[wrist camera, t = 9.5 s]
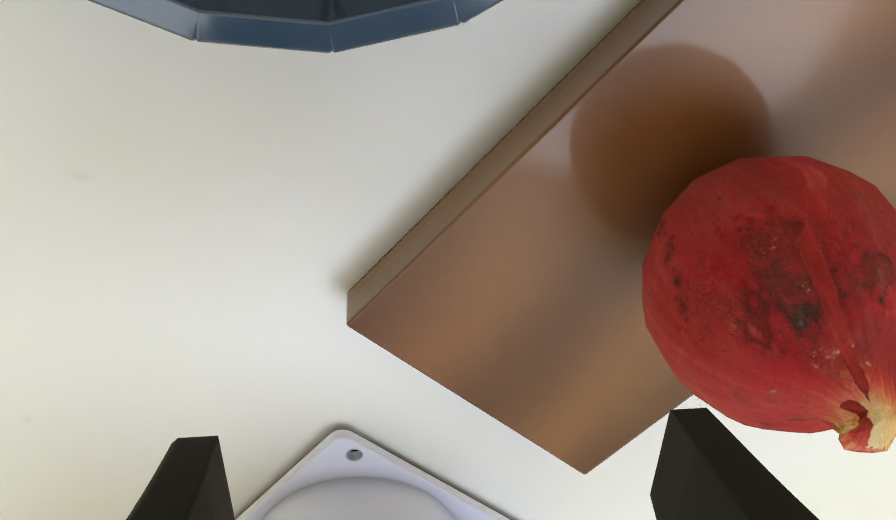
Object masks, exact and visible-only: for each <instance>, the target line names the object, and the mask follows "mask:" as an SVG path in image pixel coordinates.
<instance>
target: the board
mask: <svg viewBox="0 0 896 520" xmlns="http://www.w3.org/2000/svg"><path fill="white" fill-rule="evenodd" d="M770 156H808V157H811V158H814V159H816V160H819V161H822V162H825V163H828V164H831V165H833V166H836V167H839V168H842V169H845V170H848V171H850V172H852V173H854V174H855V175H857V176H859V177H861V178H863V179H865V180H866V181H868V182H870V183H872V184H874V185H875V186H876V187H877V188H878V189H879V191H880V192H881V193H882V194H883V195H884V196H885V198H886V199H887V200H888V201H889V202H890V203H891V205H892V206H893V207H894V208H895V209H896V0H643V1H642V2H641V3H640V4H639V5H638V6H637V7H636V8H635V9H634V10H633V11H632V12H631V13H630V14H629V15H628V16H627V17H626V18H625V19H624V20H622V21H621V22H620V23H619V24H618V25H617V26H616V27H615V28H614V29H613V30H612V31H611V32H610V33H609V34H608V35H607V36H606V37H605V38H604V39H603V40H602V41H601V42H600V43H599V44H598V45H597V46H596V47H595V48H594V49H593V50H592V51H591V52H590V53H589V54H588V55H587V56H586V57H585V58H584V59H583V60H582V61H581V62H580V63H579V64H578V65H577V66H576V67H575V68H574V69H573V70H572V71H571V72H570V73H569V74H568V75H567V76H566V77H565V78H564V79H563V80H562V81H561V82H560V83H559V84H558V85H557V86H556V87H555V88H554V89H553V90H552V91H551V92H550V93H549V94H548V95H547V96H546V97H545V98H544V99H543V100H542V101H541V102H540V103H539V104H538V105H537V106H536V107H535V108H534V109H533V110H532V111H531V112H530V113H529V114H528V115H527V116H526V117H525V118H524V119H523V120H522V121H521V122H520V123H519V124H518V125H517V126H516V127H515V128H514V129H513V130H512V131H511V132H510V133H509V134H508V135H507V136H506V137H505V138H504V139H503V140H502V141H501V142H500V143H499V144H498V145H497V146H496V147H495V148H494V149H493V150H492V151H491V152H489V153H488V154H487V155H486V156H485V157H484V158H483V159H482V160H481V161H480V162H479V163H478V164H477V165H476V166H475V167H474V168H473V169H472V170H471V171H470V172H469V173H468V174H467V175H466V176H465V177H464V178H463V179H462V180H461V181H460V182H459V183H458V184H457V185H456V186H455V187H454V188H453V189H452V190H451V191H450V192H449V193H448V194H447V195H446V196H445V197H444V198H443V199H442V200H441V201H440V202H439V203H438V204H437V205H436V206H435V207H434V208H433V209H432V210H431V211H430V212H429V213H428V214H427V215H426V216H425V217H424V218H423V219H422V220H421V221H420V222H419V223H418V224H417V225H416V226H415V227H414V228H413V229H412V230H411V231H410V232H409V233H408V234H407V235H406V236H405V237H404V238H403V239H402V240H401V241H400V242H399V243H398V244H397V245H396V246H395V247H394V248H393V249H392V250H391V251H390V252H389V253H388V254H387V255H386V256H385V257H384V258H383V259H382V260H381V261H380V262H379V263H378V264H377V265H376V266H375V267H374V268H373V269H372V270H371V271H370V272H369V273H368V274H367V275H366V276H365V277H364V278H363V279H362V280H361V281H360V282H359V283H358V284H356V285H355V286H354V287H353V288H352V289H351V290H350V291H349V292H348V294H347V325H348V326H349V327H350V328H352V329H353V330H355V331H357V332H358V333H360V334H361V335H363V336H365V337H366V338H368V339H369V340H371V341H373V342H374V343H376V344H377V345H379V346H381V347H382V348H384V349H385V350H387V351H388V352H390V353H392V354H393V355H395V356H396V357H398V358H400V359H401V360H403V361H404V362H406V363H408V364H409V365H411V366H412V367H414V368H416V369H417V370H419V371H420V372H422V373H423V374H425V375H427V376H428V377H430V378H431V379H433V380H435V381H436V382H438V383H439V384H441V385H443V386H444V387H446V388H447V389H449V390H451V391H452V392H454V393H455V394H457V395H458V396H460V397H462V398H463V399H465V400H466V401H468V402H470V403H471V404H473V405H474V406H476V407H478V408H479V409H481V410H482V411H484V412H486V413H487V414H489V415H490V416H492V417H494V418H495V419H497V420H498V421H500V422H501V423H503V424H505V425H506V426H508V427H509V428H511V429H513V430H514V431H516V432H517V433H519V434H521V435H522V436H524V437H525V438H527V439H529V440H530V441H532V442H533V443H535V444H536V445H538V446H540V447H541V448H543V449H544V450H546V451H548V452H549V453H551V454H552V455H554V456H556V457H557V458H559V459H560V460H562V461H564V462H565V463H567V464H568V465H570V466H571V467H573V468H575V469H576V470H578V471H579V472H581V473H583V474H587V473H588V472H590V471H591V470H592V469H594V468H595V467H596V466H598V465H599V464H600V463H602V462H603V461H604V460H606V459H607V458H608V457H610V456H611V455H612V454H614V453H615V452H617V451H618V450H619V449H621V448H622V447H623V446H625V445H626V444H627V443H629V442H630V441H631V440H633V439H634V438H635V437H637V436H638V435H639V434H641V433H642V432H643V431H645V430H646V429H647V428H649V427H650V426H652V425H653V424H654V423H656V422H657V421H658V420H660V419H661V418H662V417H664V416H665V415H666V414H668V413H669V412H670V410H673V409H674V408H676V407H677V406H678V405H680V404H681V403H682V402H684V401H685V400H686V399H688V398H689V397H691V396H692V395H693V393H692V392H691V391H690V390H689V389H688V388H686V387H685V386H684V385H683V384H682V383H681V382H680V381H679V380H678V379H677V377H676V376H675V374H674V373H673V371H672V370H671V368H670V367H669V365H668V364H667V362H666V361H665V359H664V357H663V356H662V354H661V352H660V351H659V349H658V347H657V345H656V344H655V342H654V340H653V338H652V336H651V335H650V333H649V331H648V329H647V327H646V324H645V317H644V310H643V303H642V264H643V262H644V259H645V257H646V254H647V252H648V249H649V247H650V244H651V242H652V239H653V237H654V234H655V232H656V229H657V227H658V224H659V222H660V220H661V217H662V215H663V213H664V211H665V210H666V209H667V208H668V207H669V206H670V205H671V204H672V203H673V202H674V201H675V200H676V198H677V197H678V196H679V195H680V194H681V193H682V192H683V191H684V190H685V189H686V188H687V187H688V186H689V185H690V184H691V182H692V181H693V180H694V179H696V178H698V177H700V176H702V175H704V174H706V173H708V172H711V171H713V170H715V169H717V168H719V167H721V166H723V165H726V164H728V163H730V162H732V161H734V160H736V159H738V158H753V157H770Z"/></svg>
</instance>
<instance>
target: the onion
mask: <svg viewBox="0 0 896 520" xmlns="http://www.w3.org/2000/svg"><path fill="white" fill-rule="evenodd" d="M642 303H643V310H644V317H645V324H646V327H647V329H648V331H649V333H650V335H651V336H652V338H653V340H654V342H655V344H656V345H657V347H658V349H659V351H660V352H661V354H662V356H663V357H664V359H665V361H666V362H667V364H668V365H669V367H670V368H671V370H672V371H673V373H674V374H675V376H676V377H677V379H678V380H679V381H680V382H681V383H682V384H683V385H684V386H685V387H686V388H688V389H689V390H690V391H691V392H692V393H693V394H694V395H695V396H697V397H698V398H700V399H701V400H703V401H704V402H706V403H707V404H709V405H710V406H712V407H713V408H715V409H716V410H718V411H719V412H721V413H722V414H724V415H725V416H727V417H728V418H731V419H733V420H735V421H737V422H739V423H741V424H744V425H747V426H751V427H756V428H760V429H767V430H776V431H786V432H796V433H815V432H821V431H826V430H831V429H833V430H835V431H836V432H837V433H839V441H840V443H841V445H842V446H843V448H844V450H849V451H855V452H866V453H875V452H883V451H888V449H889V447H890V445H891V443H892V441H893V440H894V438H895V437H896V209H895V208H894V207H893V206H892V205H891V203H890V202H889V201H888V200H887V199H886V198H885V196H884V195H883V194H882V193H881V192H880V191H879V189H878V188H877V187H876V186H875V185H874V184H872V183H870V182H868V181H866V180H865V179H863V178H861V177H859V176H857V175H855V174H854V173H852V172H850V171H848V170H845V169H842V168H839V167H836V166H833V165H831V164H828V163H825V162H822V161H819V160H816V159H814V158H811V157H808V156H770V157H753V158H738V159H736V160H734V161H732V162H730V163H728V164H726V165H723V166H721V167H719V168H717V169H715V170H713V171H711V172H708V173H706V174H704V175H702V176H700V177H698V178H696V179H694V180H693V181H692V182H691V184H690V185H689V186H688V187H687V188H686V189H685V190H684V191H683V192H682V193H681V194H680V195H679V196H678V197H677V198H676V200H675V201H674V202H673V203H672V204H671V205H670V206H669V207H668V208H667V209H666V210H665V211H664V213H663V215H662V217H661V220H660V222H659V224H658V227H657V229H656V232H655V234H654V237H653V239H652V242H651V244H650V247H649V249H648V252H647V254H646V257H645V259H644V262H643V264H642Z"/></svg>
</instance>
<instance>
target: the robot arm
mask: <svg viewBox="0 0 896 520" xmlns="http://www.w3.org/2000/svg"><path fill="white" fill-rule="evenodd" d="M354 449H356V450H359V451H355V452H352V451H350V450H354ZM650 496H651V500H652V504H653V508H654V512H655V515H656V519H657V520H819V519H818V518H817V517H816V516H815V515H814V514H813V513H812V512H811V511H809V510H808V509H807V508H806V507H805V506H804V505H803V504H802V503H801V502H800V501H799V500H798V499H797V498H796V497H795V496H794V495H793V494H792V493H791V492H790V491H789V490H787V489H786V488H785V487H784V486H783V485H782V484H781V483H780V482H779V481H778V480H777V479H776V478H775V477H774V476H773V475H772V474H771V473H770V472H769V471H768V470H767V469H766V468H765V467H764V466H763V465H762V464H761V463H760V462H759V461H758V460H757V459H756V458H755V457H754V456H753V455H752V454H751V453H750V452H749V451H748V450H747V448H746V447H745V446H744V445H743V444H742V443H741V442H740V441H739V440H738V439H737V438H736V437H735V436H734V435H733V434H732V433H731V432H730V431H729V430H728V429H727V428H726V427H725V426H724V425H723V424H722V423H721V422H720V421H719V420H718V419H717V418H716V417H715V416H714V415H713V414H712V413H711V412H710V411H709V410H708V409H707V408H695V409H677V410H670V413H669V417H668V421H667V425H666V430H665V434H664V438H663V442H662V447H661V451H660V455H659V459H658V463H657V468H656V472H655V476H654V480H653V485H652V489H651V493H650ZM126 520H235V518H234V513H233V508H232V503H231V498H230V493H229V488H228V483H227V478H226V473H225V468H224V463H223V458H222V453H221V448H220V443H219V438H218V436H206V437H188V438H177V439H176V440H175V441H174V442H173V443H172V444H171V446H170V447H169V449H168V451H167V453H166V455H165V456H164V458H163V460H162V462H161V464H160V465H159V467H158V469H157V470H156V472H155V474H154V476H153V477H152V479H151V481H150V482H149V484H148V486H147V487H146V489H145V491H144V492H143V494H142V495H141V497H140V499H139V500H138V502H137V503H136V505H135V507H134V508H133V510H132V511H131V513H130V515H129V516H128V518H127V519H126ZM236 520H510V519H508V518H506V517H505V516H503V515H501V514H499V513H497V512H496V511H494V510H492V509H490V508H488V507H487V506H485V505H483V504H481V503H479V502H478V501H476V500H474V499H472V498H470V497H469V496H467V495H465V494H463V493H461V492H460V491H458V490H456V489H454V488H452V487H451V486H449V485H447V484H445V483H443V482H442V481H440V480H438V479H436V478H434V477H433V476H431V475H429V474H427V473H425V472H424V471H422V470H420V469H418V468H416V467H415V466H413V465H411V464H409V463H407V462H406V461H404V460H402V459H400V458H398V457H397V456H395V455H393V454H391V453H389V452H388V451H386V450H384V449H382V448H380V447H379V446H377V445H375V444H373V443H371V442H370V441H368V440H366V439H364V438H362V437H361V436H359V435H357V434H355V433H353V432H351V431H348V430H337V431H334V432H332V433H331V434H329V435H328V436H327V437H326V438H325V439H324V440H323V441H322V442H321V443H319V444H318V445H317V446H316V447H315V448H314V449H313V450H312V451H311V452H309V453H308V454H307V455H306V456H305V457H304V458H303V459H302V460H301V461H300V462H298V463H297V464H296V465H295V466H294V467H293V468H292V469H291V470H290V471H289V472H287V473H286V474H285V475H284V476H283V477H282V478H281V479H280V480H279V481H277V482H276V483H275V484H274V485H273V486H272V487H271V488H270V489H269V490H268V491H266V492H265V493H264V494H263V495H262V496H261V497H260V498H259V499H258V500H256V501H255V502H254V503H253V504H252V505H251V506H250V507H249V508H248V509H247V510H245V511H244V512H243V513H242V514H241V515H240V516H239V517H238V518H237V519H236Z"/></svg>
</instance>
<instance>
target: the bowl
mask: <svg viewBox="0 0 896 520" xmlns="http://www.w3.org/2000/svg"><path fill="white" fill-rule="evenodd" d="M89 1H91V2H94V3H96V4H99V5H102V6H104V7H107V8H109V9H112V10H114V11H117V12H120V13H122V14H125V15H127V16H130V17H132V18H135V19H138V20H140V21H143V22H145V23H148V24H151V25H153V26H156V27H158V28H161V29H163V30H166V31H169V32H171V33H174V34H176V35H179V36H181V37H184V38H187V39H189V40H195V39H196V41H198V42H205V43H217V44H228V45H240V46H252V47H263V48H275V49H287V50H298V51H310V52H321V53H330V52H331V51H333V52H341V51H345V50H350V49H354V48H359V47H363V46H368V45H372V44H377V43H381V42H385V41H390V40H394V39H399V38H403V37H408V36H412V35H417V34H421V33H426V32H430V31H435V30H439V29H444V28H448V27H452V26H457V25H459V24H460V22H462V23H464V22H467V21H468V20H470V19H472V18H474V17H475V16H477V15H479V14H480V13H482V12H484V11H486V10H487V9H489V8H491V7H492V6H494V5H496V4H498V3H499V2H501V1H503V0H89Z"/></svg>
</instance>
